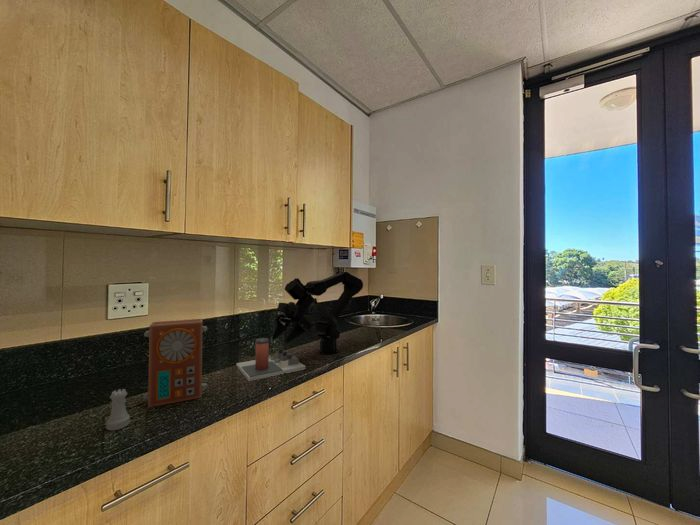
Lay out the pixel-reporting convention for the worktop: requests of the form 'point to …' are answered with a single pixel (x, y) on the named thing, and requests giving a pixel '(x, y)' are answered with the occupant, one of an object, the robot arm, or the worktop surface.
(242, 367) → the breaker board
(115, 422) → the rook chess piece
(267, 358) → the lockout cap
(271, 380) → the worktop surface
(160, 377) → the control panel
